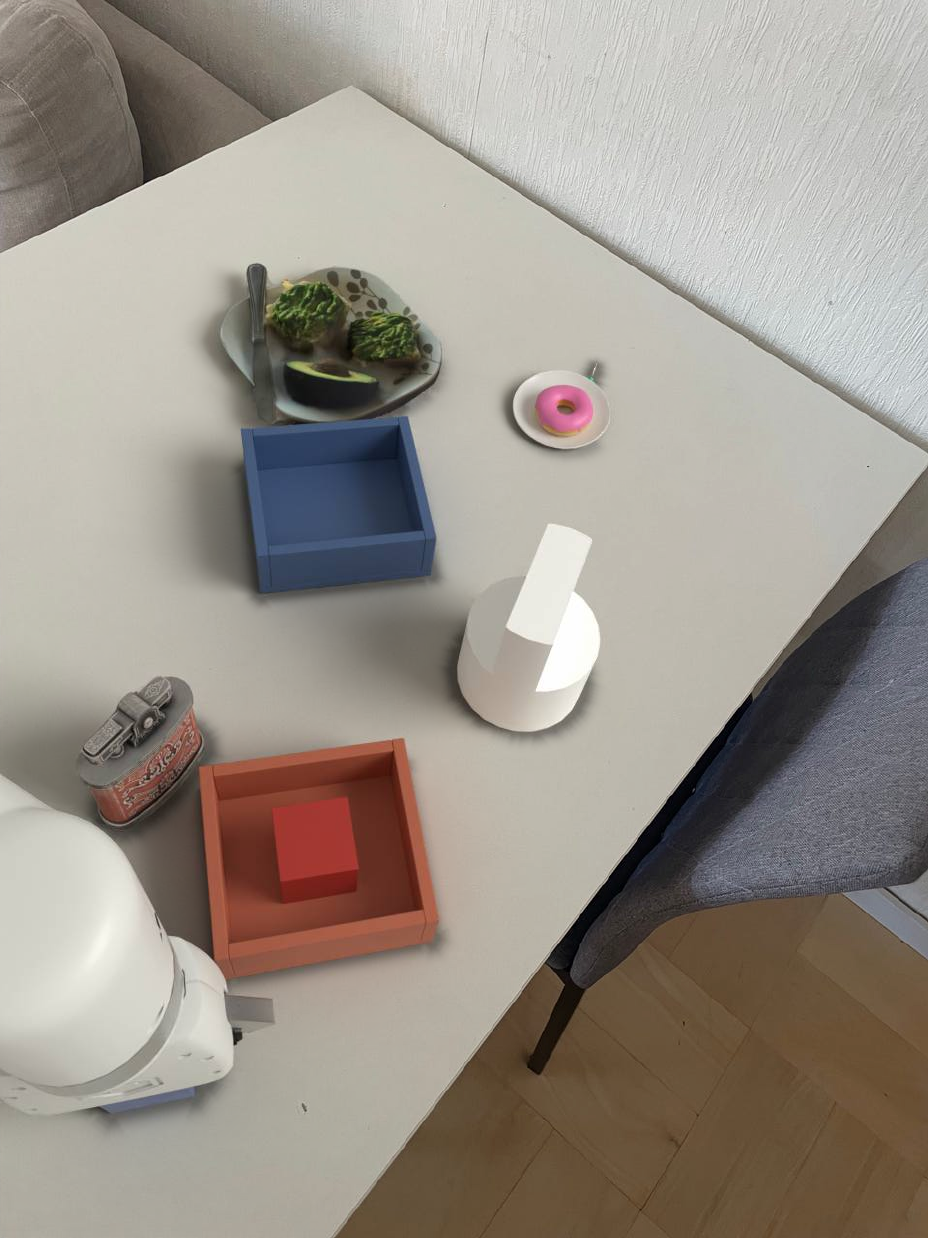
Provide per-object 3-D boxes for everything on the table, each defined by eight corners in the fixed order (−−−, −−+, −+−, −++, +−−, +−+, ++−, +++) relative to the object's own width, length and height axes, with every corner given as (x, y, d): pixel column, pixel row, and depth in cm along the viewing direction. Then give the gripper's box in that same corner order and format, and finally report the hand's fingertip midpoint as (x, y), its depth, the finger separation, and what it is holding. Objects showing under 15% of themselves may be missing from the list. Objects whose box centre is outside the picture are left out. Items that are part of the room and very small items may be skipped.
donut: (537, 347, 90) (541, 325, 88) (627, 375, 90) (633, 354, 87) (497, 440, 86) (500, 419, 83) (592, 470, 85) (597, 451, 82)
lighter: (178, 719, 68) (157, 644, 60) (217, 748, 67) (201, 676, 59) (87, 810, 64) (51, 743, 56) (127, 842, 63) (96, 779, 55)
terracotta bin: (221, 980, 60) (214, 961, 56) (206, 796, 66) (198, 766, 61) (432, 942, 62) (439, 920, 58) (399, 767, 68) (404, 737, 64)
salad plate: (169, 310, 88) (161, 266, 84) (347, 247, 94) (348, 204, 90) (282, 462, 80) (279, 422, 76) (466, 382, 87) (473, 342, 83)
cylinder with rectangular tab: (560, 750, 70) (599, 666, 60) (438, 703, 71) (457, 612, 61) (596, 646, 75) (638, 552, 65) (481, 604, 76) (505, 504, 65)
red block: (282, 904, 62) (279, 882, 58) (274, 834, 64) (271, 807, 60) (356, 891, 63) (358, 869, 59) (346, 822, 65) (347, 796, 61)
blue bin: (260, 594, 74) (256, 556, 70) (244, 470, 80) (240, 428, 76) (430, 575, 76) (436, 537, 72) (403, 456, 82) (407, 415, 78)
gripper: (-151, 1139, 38) (-13, 1170, 53) (305, 1048, 41) (310, 1102, 57) (-134, 937, 42) (-9, 1021, 57) (283, 869, 45) (294, 965, 61)
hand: (150, 1061), depth 57 cm, fingers closed on blue block, 4 cm apart
